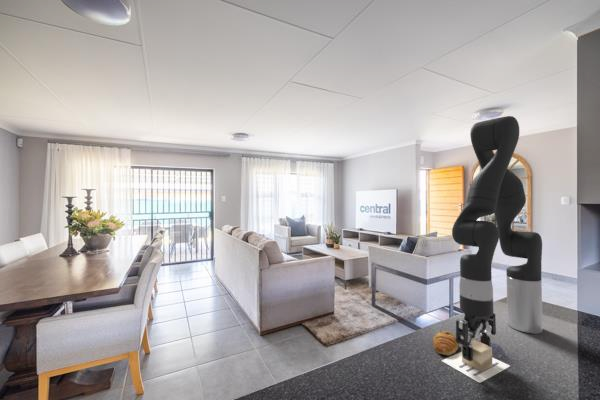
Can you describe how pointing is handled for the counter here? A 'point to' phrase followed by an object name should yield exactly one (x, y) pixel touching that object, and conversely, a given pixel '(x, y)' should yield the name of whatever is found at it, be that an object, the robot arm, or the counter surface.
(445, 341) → the pastry
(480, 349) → the maple cube
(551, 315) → the counter surface
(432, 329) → the counter surface
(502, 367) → the letter
